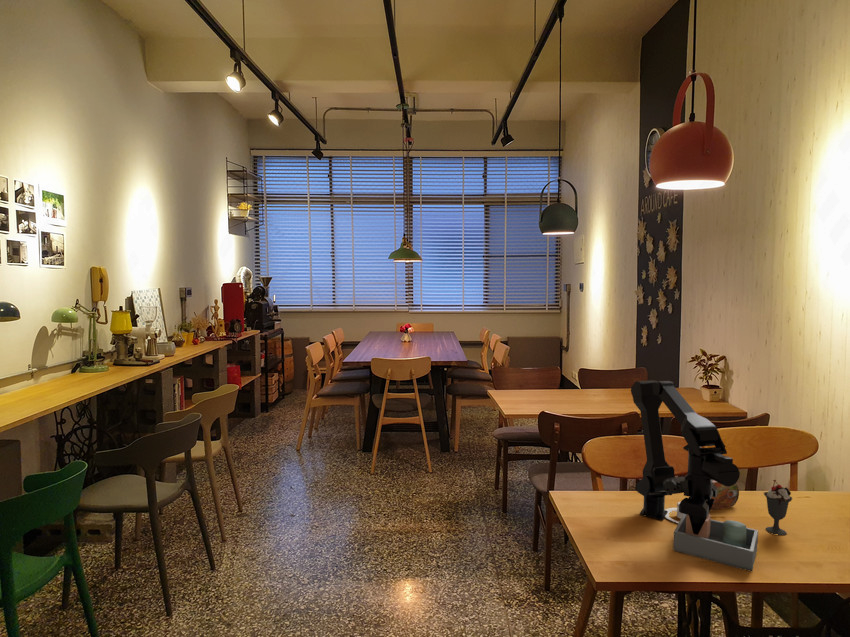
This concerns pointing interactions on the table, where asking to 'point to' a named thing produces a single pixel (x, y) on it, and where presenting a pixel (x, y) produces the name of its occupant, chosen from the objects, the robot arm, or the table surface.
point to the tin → (725, 496)
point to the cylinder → (734, 533)
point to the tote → (716, 545)
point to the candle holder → (674, 510)
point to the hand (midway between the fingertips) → (697, 530)
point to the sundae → (777, 506)
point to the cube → (704, 530)
